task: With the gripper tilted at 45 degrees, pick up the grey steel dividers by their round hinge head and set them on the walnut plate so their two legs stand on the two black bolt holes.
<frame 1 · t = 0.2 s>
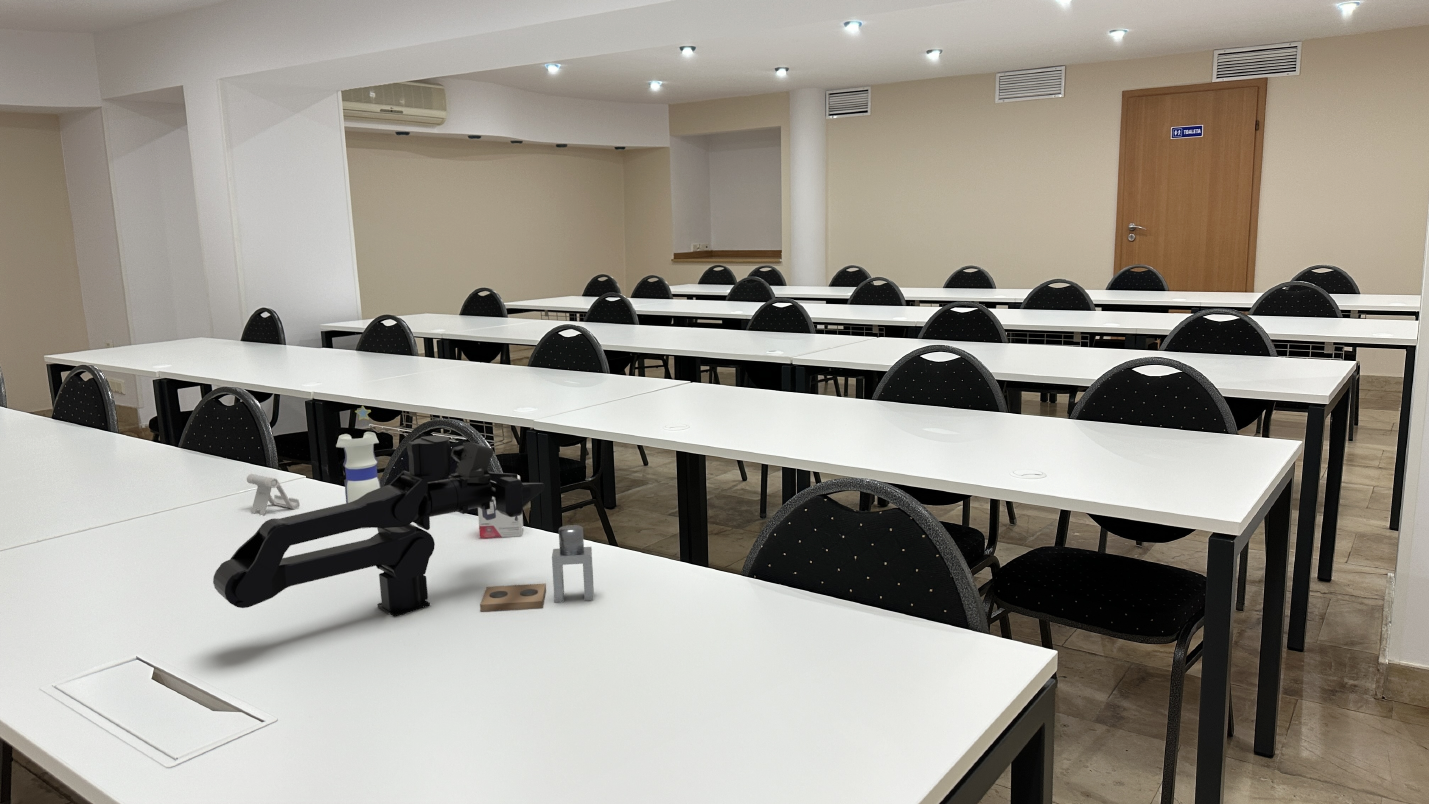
hand: (530, 481, 173), 17 cm above the table, tool horizontal, fingers open, 9 cm apart
dividers: (574, 596, 162), on the table
bolt plate: (514, 600, 161), on the table
portable electronic device stand: (273, 511, 219), on the table
water bottle: (365, 523, 207), on the table
ink box: (501, 535, 197), on the table
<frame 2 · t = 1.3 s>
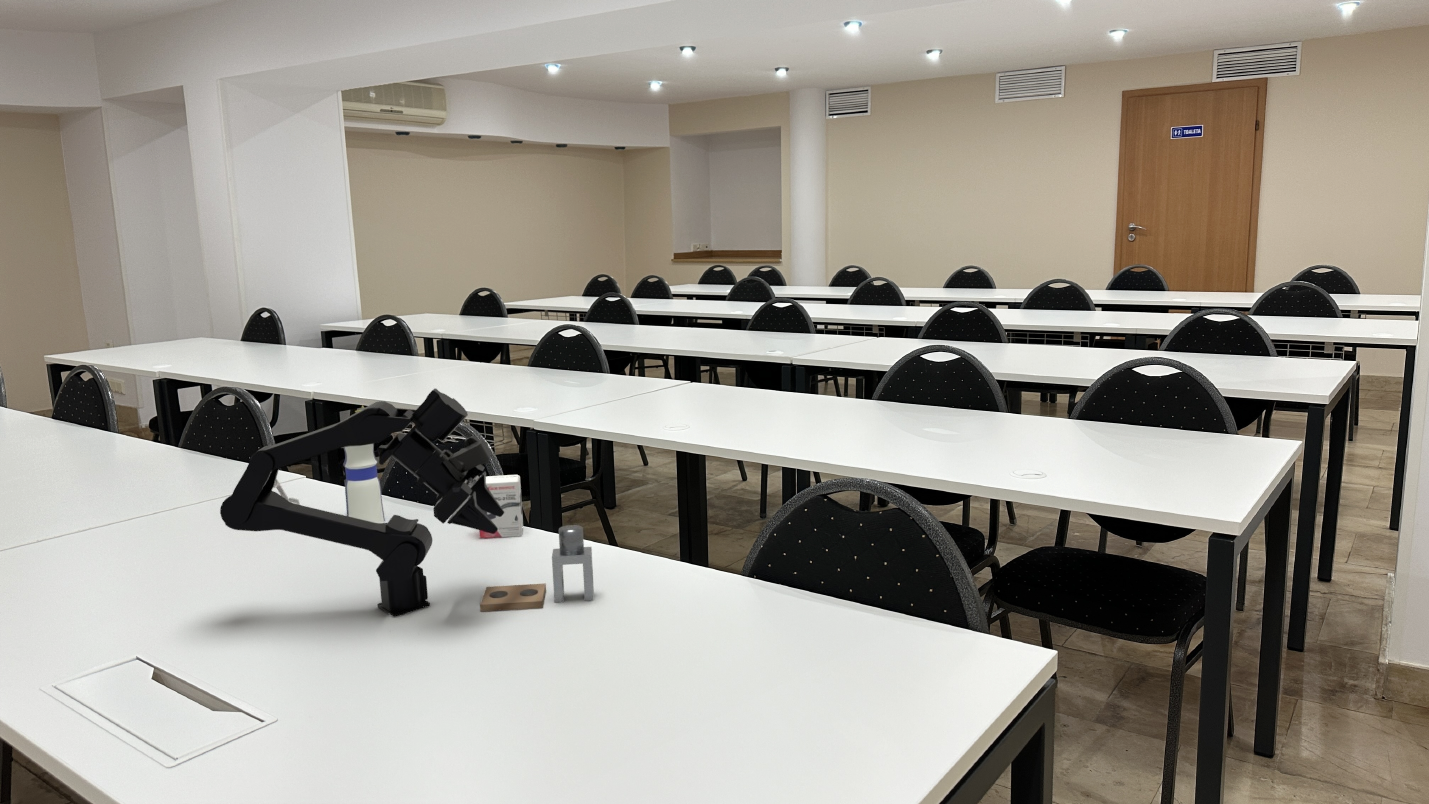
hand: (499, 522, 159), 14 cm above the table, tool tilted 45°, fingers open, 9 cm apart
nothing on the table moved.
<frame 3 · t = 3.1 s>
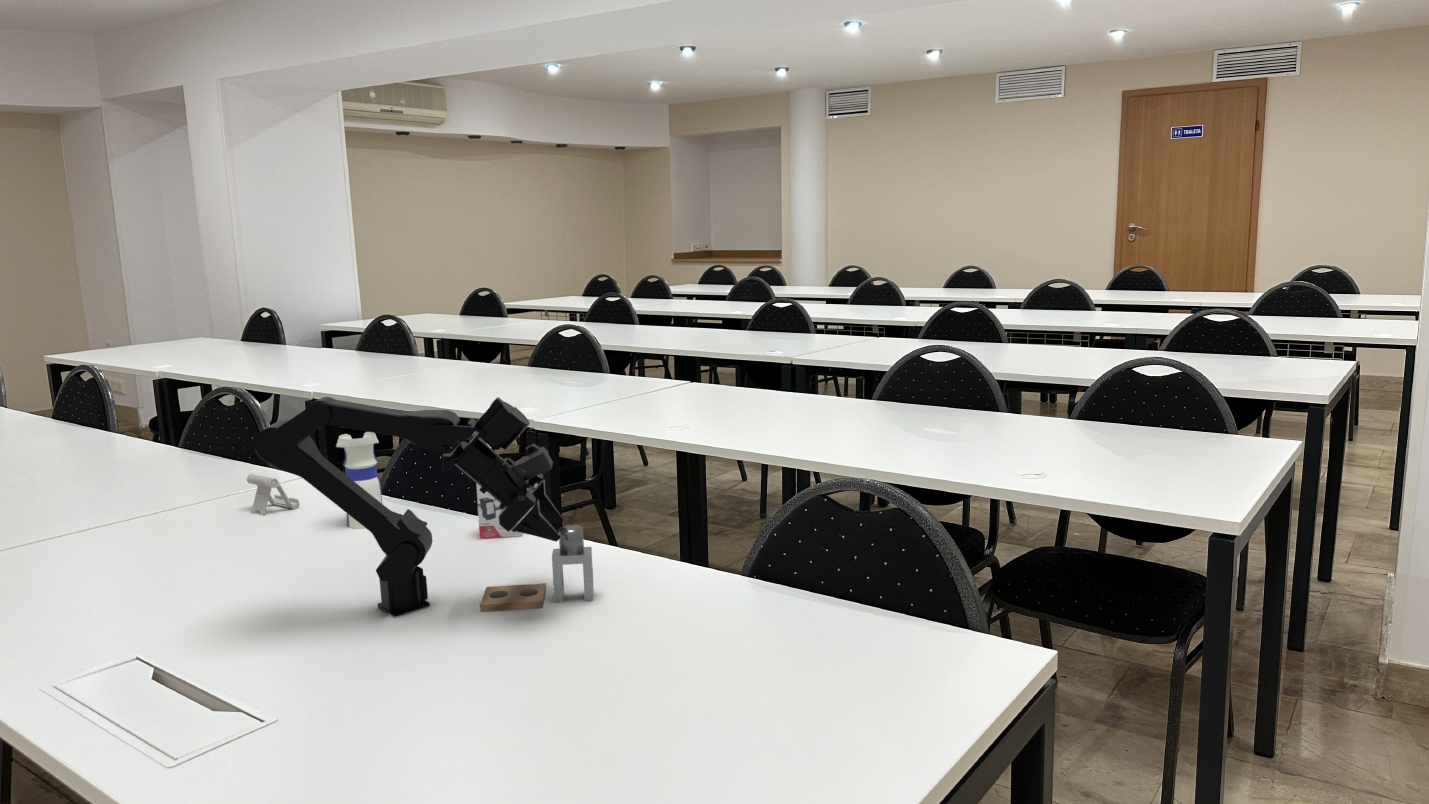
hand: (560, 530, 160), 12 cm above the table, tool tilted 45°, fingers open, 9 cm apart
nothing on the table moved.
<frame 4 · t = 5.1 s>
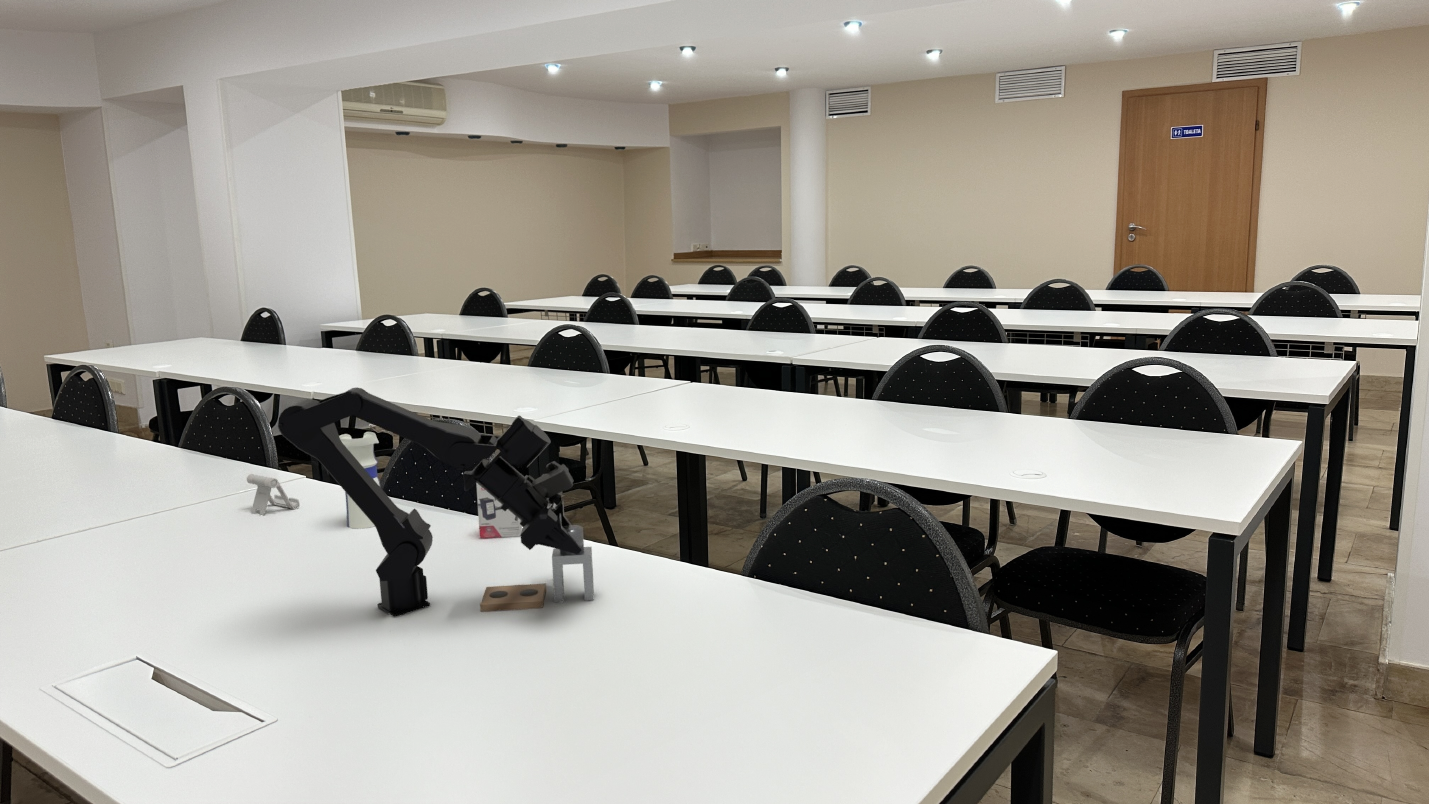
hand: (580, 547, 161), 9 cm above the table, tool tilted 45°, fingers closed on dividers, 4 cm apart
dividers: (574, 596, 162), on the table, touching gripper
everything else where it was.
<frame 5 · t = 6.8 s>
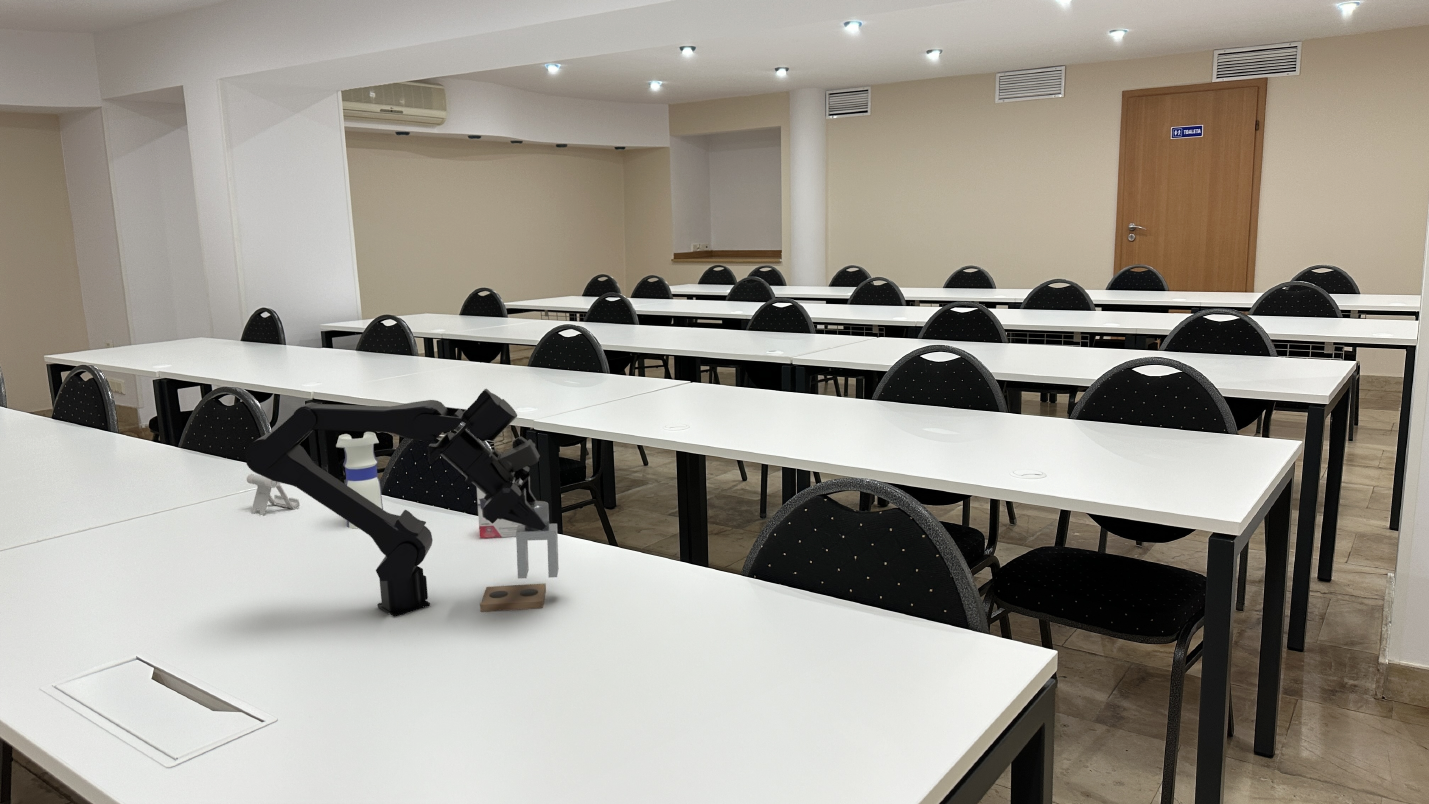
hand: (545, 524, 159), 13 cm above the table, tool tilted 45°, fingers closed on dividers, 4 cm apart
dividers: (538, 573, 161), point 4 cm above the table, touching gripper
everything else where it was.
when the fingers open (11 cm above the table, at t = 8.5 s): dividers stays where it is, resting on bolt plate.
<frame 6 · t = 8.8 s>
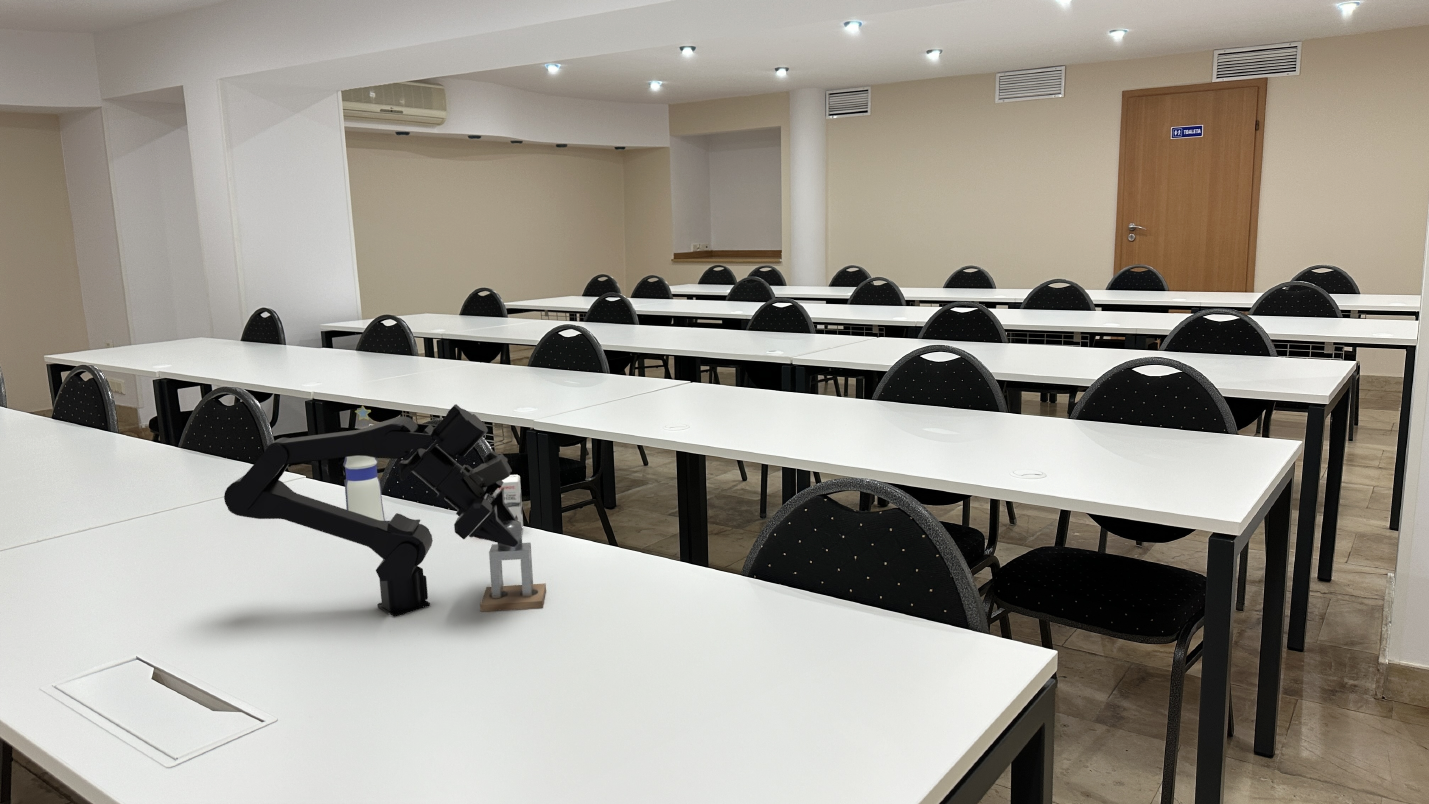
hand: (518, 538, 159), 11 cm above the table, tool tilted 45°, fingers open, 7 cm apart
dividers: (512, 593, 161), point 1 cm above the table, touching bolt plate
everything else where it was.
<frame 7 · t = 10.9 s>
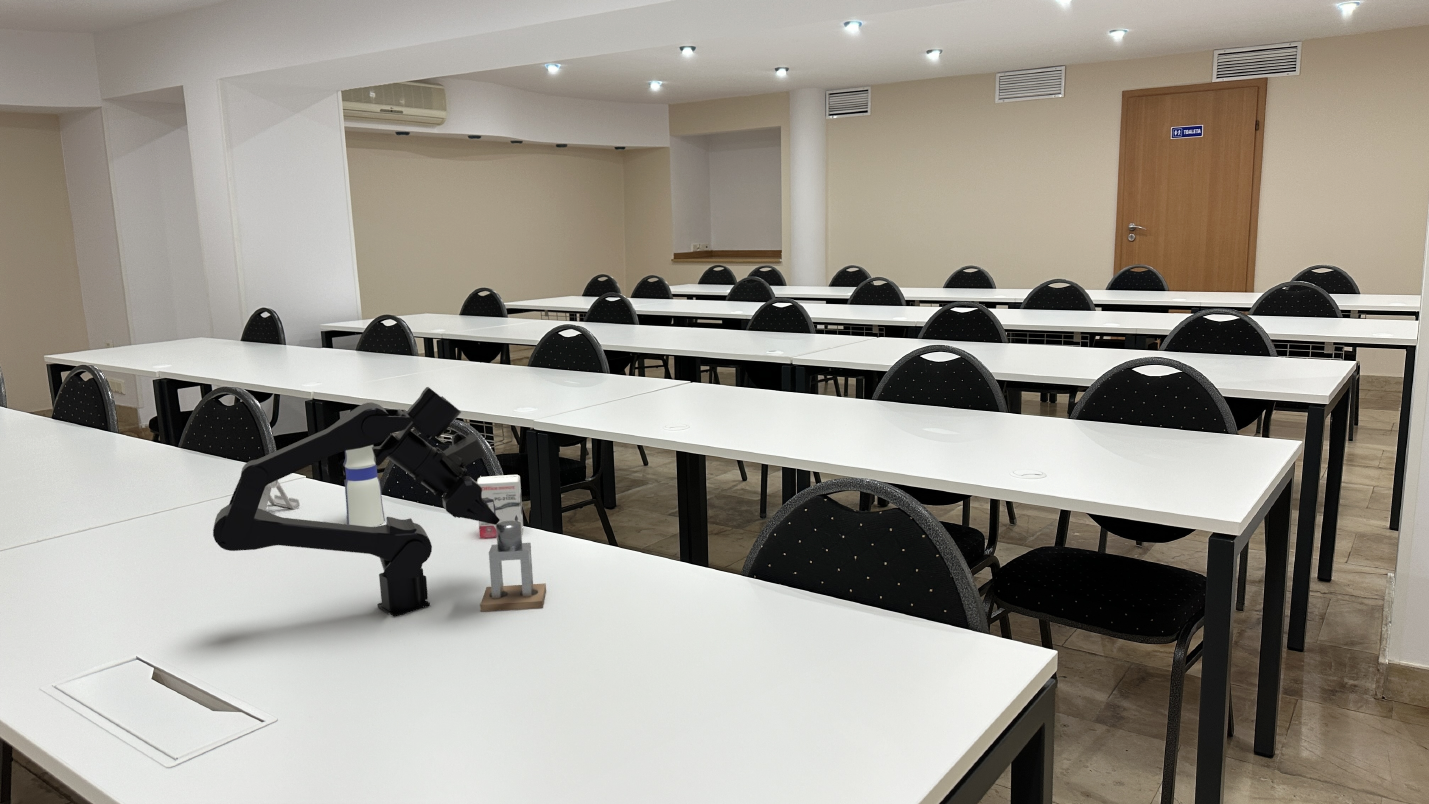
hand: (492, 515, 163), 14 cm above the table, tool tilted 45°, fingers open, 9 cm apart
nothing on the table moved.
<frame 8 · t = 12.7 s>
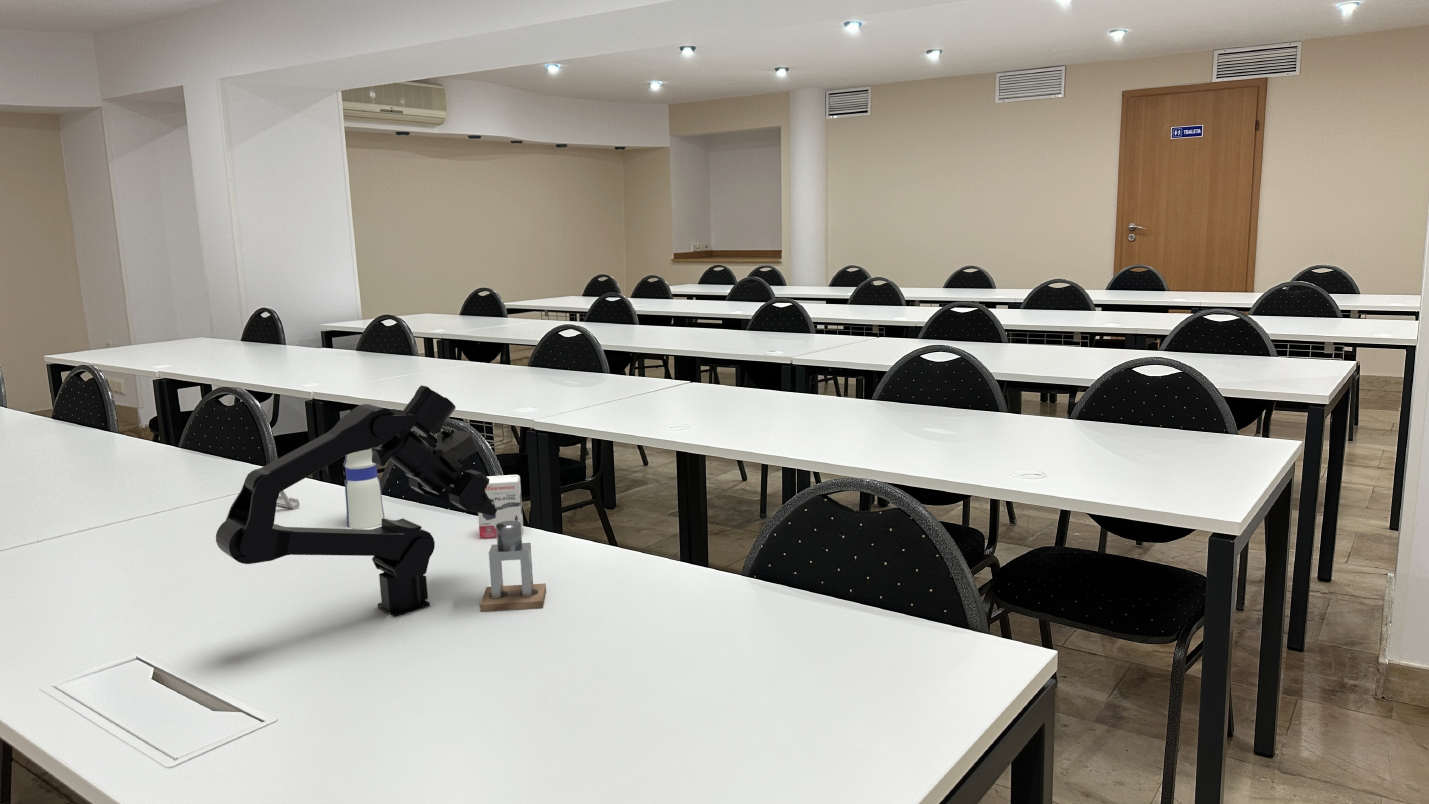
hand: (481, 508, 168), 14 cm above the table, tool tilted 45°, fingers open, 9 cm apart
nothing on the table moved.
at the end: dividers 0.1 cm off-centre on the bolt plate, point 1.3 cm above the bolt plate's base; dividers tilted 0°; the gripper is holding nothing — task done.
